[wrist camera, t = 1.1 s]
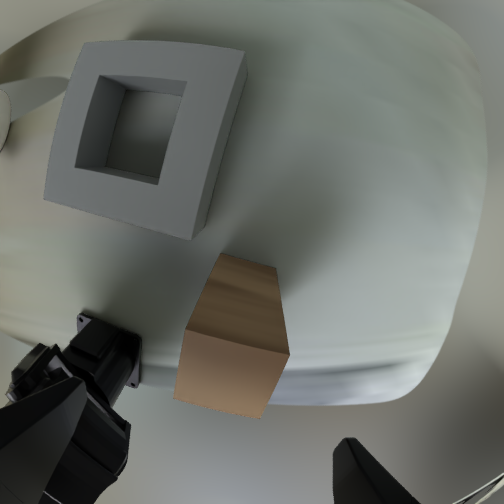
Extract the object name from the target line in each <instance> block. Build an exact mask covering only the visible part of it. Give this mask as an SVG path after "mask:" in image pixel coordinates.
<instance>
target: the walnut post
mask: <svg viewBox="0 0 504 504" xmlns="http://www.w3.org/2000/svg"><path fill="white" fill-rule="evenodd" d="M289 356H290V352H289V346H288V340H287V333H286V327H285V321H284V315H283V309H282V302H281V296H280V290H279V285H278V279H277V273H276V268H272V267H269V266H265V265H261V264H257V263H254V262H250V261H246V260H243V259H239V258H235V257H232V256H228V255H225V254H221V253H220V255H219V257H218V259H217V261H216V263H215V265H214V267H213V270H212V272H211V274H210V276H209V278H208V280H207V282H206V285H205V287H204V289H203V291H202V293H201V295H200V298H199V300H198V302H197V304H196V306H195V309H194V311H193V313H192V315H191V317H190V320H189V322H188V324H187V326H186V329H185V333H184V338H183V344H182V349H181V355H180V360H179V366H178V372H177V378H176V384H175V390H174V396H173V398H174V399H177V400H180V401H183V402H187V403H191V404H194V405H198V406H202V407H206V408H210V409H214V410H218V411H222V412H227V413H231V414H236V415H241V416H247V417H252V418H258V419H260V417H261V415H262V413H263V411H264V409H265V407H266V405H267V403H268V401H269V399H270V397H271V395H272V393H273V391H274V389H275V387H276V384H277V382H278V380H279V378H280V376H281V374H282V372H283V369H284V367H285V365H286V363H287V360H288V358H289Z"/></svg>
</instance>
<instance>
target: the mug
mask: <svg viewBox="0 0 504 504" xmlns="http://www.w3.org/2000/svg"><path fill="white" fill-rule="evenodd" d="M10 119H11V104H10V100H9V97H8V95H7V94H6V92H5V91H3V90H1V89H0V151H1V149H2V147H3V145H4V143H5V140H6V137H7V134H8V130H9V126H10Z"/></svg>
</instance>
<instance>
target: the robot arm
mask: <svg viewBox="0 0 504 504" xmlns="http://www.w3.org/2000/svg"><path fill="white" fill-rule="evenodd" d="M82 319H83V320H82ZM77 330H78V334H77V335H76V336H75V337H74V338H73V339H72V340H71V341H70V342H69V343H70V344H69V345H68V346H67V347H66V348H65V349H64V350H63V351H62V352H61V351H60V348H59V347H58V345H57V344H54V345H53V346H51V347H49V346H45V345H43V344H41V343H39V344H38V345H37V346H35V347H34V348H33V350H31V351H30V352H29V353H28V354H27V355H26V356H25V357H24V358H23V359H22V360H21V362H20V363H19V364H18V365H17V366H16V367H15V368H14V370H13V371H12V372H11V375H12V382H11V383H10V385H9V389H8V391H7V392H6V394H5V395H6V396H7V397H8V399H9V400H10V401H9V402H8V403H7V404H6V405H5V406H4V407H3V408H1V409H0V504H94V503H95V501H96V500H97V498H98V497H99V495H100V494H101V493H102V492H103V491H104V490H105V489H106V488H107V487H108V486H110V485H111V484H112V483H114V482H115V481H117V479H118V476H119V475H120V474H121V472H122V471H123V469H124V467H125V466H126V463H127V459H128V449H129V439H130V430H131V424H129V422H127V421H126V420H124V419H123V418H122V417H121V416H119V415H118V414H117V413H116V412H115V411H114V410H113V409H112V407H113V406H114V404H115V402H116V400H117V399H118V397H119V395H120V393H121V391H122V390H123V388H124V386H125V385H126V386H129V387H132V388H137V387H138V385H139V376H140V358H141V344H142V339H141V337H140V336H139V335H137V334H134V333H132V332H129V331H126V330H124V329H121V328H118V327H116V326H113V325H111V324H108V323H105V322H103V321H100V320H98V319H96V318H93V317H91V316H88V315H86V314H84V313H80V314H79V315H78V316H77ZM134 339H136V340H137V341H135V340H134ZM333 496H334V504H421V503H419V502H418V501H417V500H416V499H415V498H414V497H412V495H411V494H410V493H409V492H408V491H407V490H406V489H405V488H404V487H403V486H402V485H401V484H400V483H399V482H398V481H397V480H396V479H395V478H394V477H393V476H392V475H391V474H390V473H389V472H388V471H387V470H386V469H385V468H384V467H383V466H382V465H381V464H380V463H379V462H378V461H377V460H376V459H375V458H374V457H373V456H372V455H371V454H370V453H369V452H368V451H367V450H366V448H365V447H363V445H362V444H361V443H360V442H359V441H358V440H357V439H356V438H353V437H352V438H351V437H350V438H344V439H342V441H341V442H340V443H339V444H338V446H337V447H336V448H335V450H334V452H333Z"/></svg>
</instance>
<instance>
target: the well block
mask: <svg viewBox="0 0 504 504" xmlns="http://www.w3.org/2000/svg"><path fill="white" fill-rule="evenodd" d="M247 75H248V73H247V64H246V55H245V51H242V50H237V49H231V48H225V47H219V46H212V45H204V44H196V43H186V42H173V41H154V40H120V41H100V42H88V43H84V45H83V47H82V50H81V52H80V54H79V57H78V59H77V62H76V64H75V67H74V70H73V72H72V75H71V78H70V81H69V84H68V87H67V90H66V93H65V96H64V99H63V103H62V106H61V110H60V113H59V117H58V121H57V125H56V129H55V133H54V137H53V142H52V147H51V152H50V157H49V163H48V169H47V175H46V183H45V191H44V200H47V201H51V202H54V203H57V204H61V205H64V206H68V207H71V208H75V209H79V210H82V211H86V212H89V213H93V214H96V215H100V216H103V217H107V218H110V219H114V220H117V221H121V222H124V223H128V224H132V225H135V226H139V227H142V228H146V229H149V230H153V231H157V232H160V233H164V234H167V235H171V236H175V237H178V238H182V239H185V240H189V241H191V240H192V239H193V238H194V237H195V236H196V235H197V234H198V233H199V232H200V231H201V230H202V229H203V228H204V226H205V222H206V218H207V214H208V210H209V206H210V202H211V198H212V194H213V190H214V187H215V183H216V179H217V175H218V172H219V168H220V164H221V161H222V157H223V154H224V150H225V146H226V143H227V140H228V136H229V133H230V129H231V126H232V123H233V119H234V116H235V113H236V110H237V106H238V103H239V100H240V97H241V94H242V90H243V87H244V84H245V81H246V78H247ZM126 90H138V91H148V92H157V93H165V94H172V95H179V96H182V99H181V102H180V105H179V109H178V112H177V115H176V118H175V122H174V125H173V129H172V132H171V136H170V139H169V143H168V147H167V150H166V154H165V158H164V162H163V166H162V170H161V175H160V178H155V177H151V176H146V175H142V174H137V173H133V172H128V171H123V170H119V169H114V168H109V167H105V166H106V161H107V157H108V152H109V148H110V144H111V140H112V136H113V132H114V128H115V124H116V121H117V117H118V114H119V110H120V107H121V104H122V101H123V98H124V94H125V91H126Z"/></svg>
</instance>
